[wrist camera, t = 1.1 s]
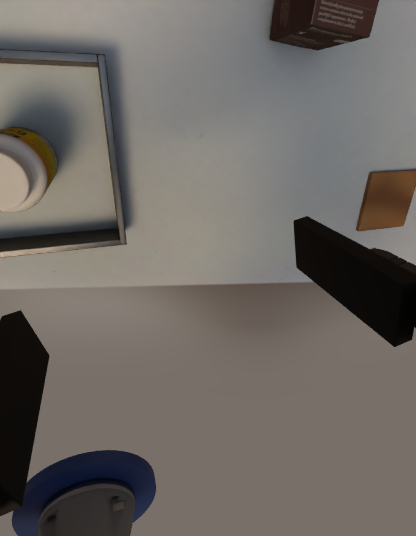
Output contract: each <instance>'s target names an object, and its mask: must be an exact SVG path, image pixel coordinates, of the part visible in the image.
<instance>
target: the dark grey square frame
mask: <svg viewBox="0 0 416 536" xmlns="http://www.w3.org/2000/svg"><path fill="white" fill-rule="evenodd" d="M0 63H10V64H34V65H59V66H83V67H98V73H99V81H100V89H101V97H102V105H103V113H104V121H105V129H106V137H107V145H108V153H109V161H110V169H111V177H112V185H113V193H114V201H115V209H116V217H117V225H118V228H115V229H105V230H94V231H83V232H72V233H61V234H50V235H39V236H28V237H17V238H6V239H0V258H2V257H11V256H21V255H30V254H40V253H49V252H59V251H68V250H78V249H87V248H97V247H106V246H116V245H125V244H127V243H126V234H125V225H124V217H123V208H122V199H121V190H120V182H119V173H118V164H117V156H116V147H115V138H114V129H113V121H112V112H111V103H110V95H109V86H108V77H107V68H106V60H105V55H104V54H87V53H68V52H49V51H29V50H10V49H0Z"/></svg>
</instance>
